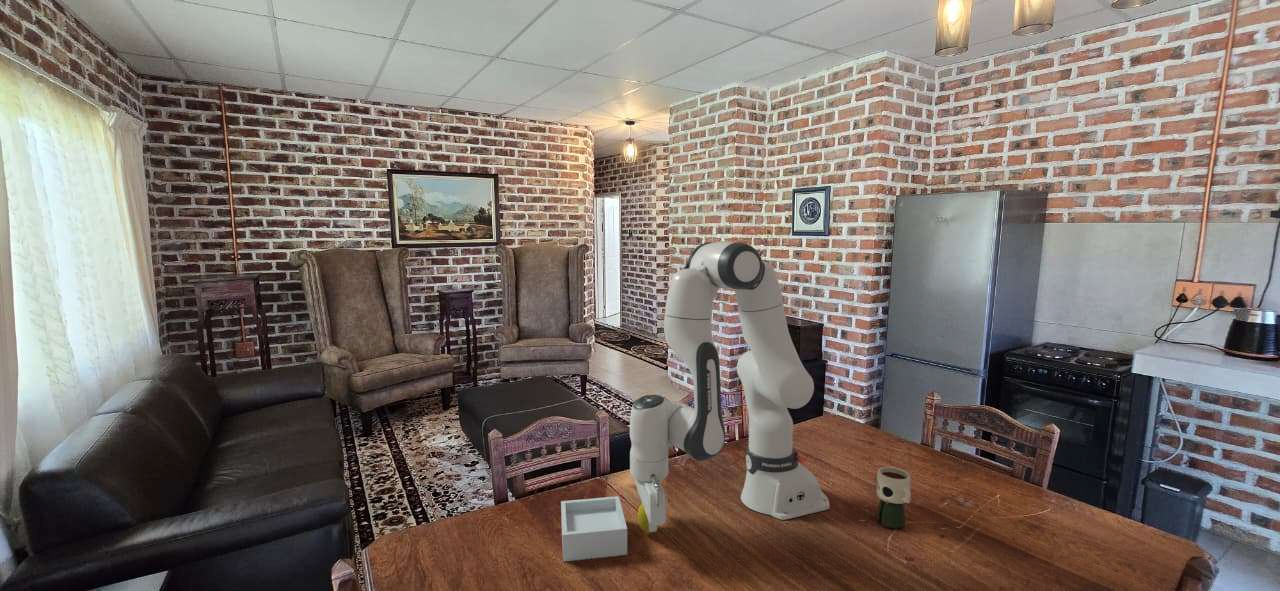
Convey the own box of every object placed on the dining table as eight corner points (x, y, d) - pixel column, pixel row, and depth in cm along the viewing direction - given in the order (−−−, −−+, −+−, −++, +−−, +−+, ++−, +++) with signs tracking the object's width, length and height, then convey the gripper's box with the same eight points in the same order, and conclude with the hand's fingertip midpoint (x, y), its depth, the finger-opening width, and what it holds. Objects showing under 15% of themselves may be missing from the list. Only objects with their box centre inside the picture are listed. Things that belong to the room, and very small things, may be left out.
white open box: (618, 520, 129) (618, 496, 128) (627, 556, 115) (627, 528, 114) (561, 526, 126) (561, 501, 125) (563, 563, 113) (562, 535, 112)
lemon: (659, 540, 120) (658, 508, 119) (635, 538, 121) (635, 505, 120) (662, 527, 125) (662, 495, 124) (640, 524, 126) (639, 493, 125)
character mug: (863, 513, 132) (866, 464, 130) (887, 509, 133) (890, 461, 131) (893, 538, 121) (897, 485, 119) (919, 534, 123) (923, 481, 121)
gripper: (673, 486, 111) (673, 546, 113) (653, 446, 131) (653, 498, 133) (643, 489, 110) (644, 550, 112) (628, 448, 130) (629, 500, 132)
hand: (649, 521), depth 122 cm, fingers closed on lemon, 5 cm apart
